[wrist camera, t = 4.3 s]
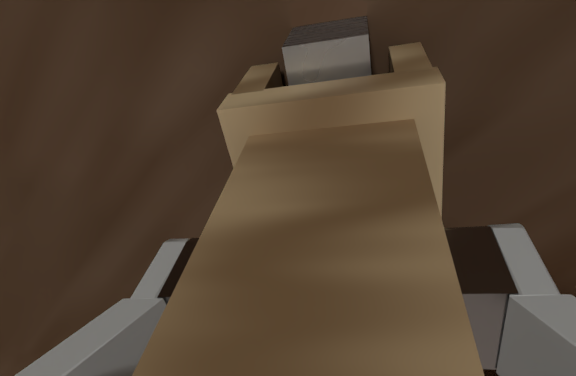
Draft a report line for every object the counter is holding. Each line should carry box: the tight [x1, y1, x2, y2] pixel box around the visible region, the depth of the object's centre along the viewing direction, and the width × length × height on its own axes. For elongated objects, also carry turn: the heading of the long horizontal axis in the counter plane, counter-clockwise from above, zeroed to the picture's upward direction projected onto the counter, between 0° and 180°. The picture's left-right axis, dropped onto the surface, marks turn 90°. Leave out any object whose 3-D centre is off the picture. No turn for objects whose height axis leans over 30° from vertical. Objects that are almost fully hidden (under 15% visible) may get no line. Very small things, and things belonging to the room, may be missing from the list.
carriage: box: [132, 42, 484, 376], centre depth 9 cm, size 5×5×9 cm
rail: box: [282, 16, 371, 86], centre depth 15 cm, size 2×18×2 cm, turn 10°
